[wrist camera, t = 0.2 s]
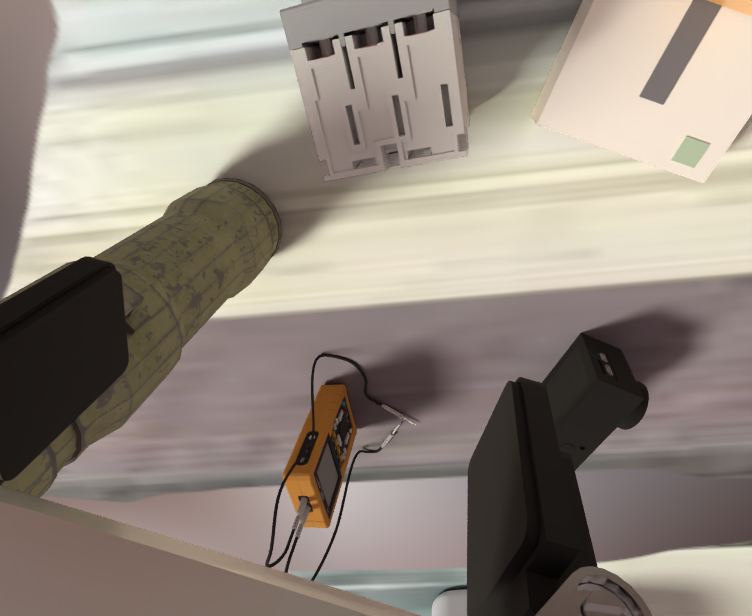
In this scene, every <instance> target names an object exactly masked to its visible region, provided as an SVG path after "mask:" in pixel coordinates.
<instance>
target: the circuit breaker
mask: <svg viewBox="0 0 752 616" xmlns="http://www.w3.org/2000/svg"><path fill="white" fill-rule="evenodd" d="M301 2H302V4H300V5H296V6H293V7H289V8H286V9H282V10H280V15H281V19H282V23H283V27H284V30H285V34H286V38H287V42H288V46H289V49H290V50H293V51H290V53H291V57H292V61H293V64H294V68H295V72H296V76H297V79H298V83H299V87H300V91H301V94H302V98H303V102H304V106H305V110H306V113H307V117H308V121H309V125H310V128H311V132H312V136H313V140H314V143H315V147H316V151H317V155H318V158H319V161H323V160H326V161H327V165H328V169H329V173H330V175H325V176H324V181H330V180H335V179H341V178H346V177H352V176H358V175H363V174H369V173H374V172H380V171H385V170H387V169H388V168H390V167H392V166H397V165H400V166H401V168H402V167H408V166H413V165H419V164H425V163H430V162H436V161H441V160H447V159H452V158H458V157H464V156H467V153H468V136H467V126H469V116H470V114H469V110H468V101H467V88H466V79H465V70H464V61H463V52H462V44H461V35H460V26H459V17H458V8H457V0H301Z"/></svg>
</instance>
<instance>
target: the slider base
mask: <svg viewBox="0 0 752 616" xmlns="http://www.w3.org/2000/svg"><path fill="white" fill-rule="evenodd" d="M751 115H752V16H749V15H746V14H744V13H741V12H738V11H735V10H732V9H730V8H727V7H724V6H721V5H718V4H715V3H713V2H710V1H707V0H582V2H581V4H580V7H579V9H578V11H577V13H576V15H575V18H574V20H573V22H572V24H571V27H570V29H569V31H568V33H567V35H566V38H565V40H564V42H563V44H562V47H561V49H560V51H559V53H558V55H557V58H556V60H555V62H554V64H553V67H552V69H551V71H550V73H549V75H548V78H547V80H546V82H545V84H544V87H543V89H542V91H541V93H540V95H539V98H538V100H537V102H536V104H535V107H534V109H533V111H532V113H531V115H530V116H531V117H532V119H533V120H534V122H535V123H536V124H537V125H539V126H542V127H545V128H548V129H551V130H554V131H556V132H559V133H562V134H565V135H568V136H570V137H573V138H576V139H579V140H582V141H585V142H587V143H590V144H593V145H596V146H599V147H601V148H604V149H607V150H610V151H613V152H616V153H618V154H621V155H624V156H627V157H630V158H633V159H635V160H638V161H641V162H644V163H647V164H649V165H652V166H655V167H658V168H661V169H664V170H666V171H669V172H672V173H675V174H678V175H680V176H683V177H686V178H689V179H692V180H695V181H697V182H700V183H703V184H704V182H705V181H706V179H707V178H708V176H709V175H710V174H711V172H712V171H713V169H714V168H715V166H716V165H717V164H718V162H719V161H720V159H721V158H722V156H723V155H724V153H725V152H726V151H727V149H728V148H729V146H730V145H731V143H732V142H733V141H734V139H735V138H736V136H737V135H738V133H739V132H740V130H741V129H742V128H743V126H744V125H745V123H746V122H747V120H748V119H749V118H750V116H751Z"/></svg>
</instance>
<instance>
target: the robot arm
mask: <svg viewBox="0 0 752 616" xmlns="http://www.w3.org/2000/svg"><path fill="white" fill-rule="evenodd" d="M128 363H129V354H128V343H127V331H126V320H125V309H124V298H123V287H122V277H121V274H120V272H118V271H116V267H115V266H114V264H112V263H110V262H107V261H103V260H100V259H96V258H92V257H83V258H81V259H79V260H77V261H75V262H74V263H72V264H70V265H68V266H67V267H65V268H63V269H61V270H60V271H58V272H56V273H54V274H53V275H51V276H49V277H47V278H46V279H44V280H42V281H40V282H38V283H37V284H35V285H33V286H31V287H30V288H28V289H26V290H24V291H23V292H21V293H19V294H17V295H16V296H14V297H12V298H10V299H9V300H7V301H5V302H3V303H2V304H0V485H1V484H2V483H3V482H4V481H10V480H12V479H14V478H15V477H17V476H18V475H19V474H20V473H21V472H22V471H23V470H24V469H25V468H26V467H27V466H28V465H29V464H30V463H31V462H32V461H33V460H34V459H35V458H36V457H37V456H38V455H40V454H41V453H42V452H43V451H44V450H45V449H46V448H47V447H48V446H49V445H50V444H51V443H52V442H53V441H54V440H55V439H56V438H57V437H58V436H59V435H60V434H61V433H62V432H63V431H64V430H65V429H66V428H67V427H68V426H69V425H71V424H72V423H73V422H74V421H75V420H76V419H77V418H78V417H79V416H80V415H81V414H82V413H83V412H84V411H85V410H86V409H87V408H88V407H89V406H90V405H91V404H92V403H93V402H94V401H95V400H96V399H97V398H98V397H99V396H100V395H101V394H103V393H104V392H105V391H106V390H107V389H108V388H109V387H110V386H111V385H112V384H113V383H114V382H115V381H116V380H117V379H118V378H119V377H120V376H121V375H122V374H123V373H124V372H125V370H126V368H127V366H128ZM467 530H468V532H467V616H652V614H651V612H650V610H649V609H648V607H647V606H646V604H645V603H644V601H643V599H642V598H641V597H640V596H639V595H638V594H637V592H636V591H635V590H634V589H633V588H632V587H631V586H630V585H629V584H628V583H626V582H625V581H624V580H622V579H621V578H620V577H618V576H617V575H615V574H613V573H611V572H609V571H607V570H605V569H602V568H598V567H597V563H596V559H595V555H594V550H593V546H592V542H591V538H590V534H589V529H588V525H587V521H586V517H585V513H584V508H583V504H582V500H581V496H580V492H579V487H578V483H577V479H576V475H575V470H574V466H573V462H572V459H571V456H570V454H569V453H568V451H567V450H563V449H560V448H559V444H558V439H557V435H556V430H555V425H554V421H553V416H552V411H551V407H550V402H549V397H548V393H547V388H546V385H545V384H543V383H540V382H536V381H533V380H529V379H525V378H522V377H519V378H518V379H517V380H516V382H513V381H508V382H507V384H506V386H505V388H504V390H503V392H502V394H501V396H500V398H499V400H498V403H497V405H496V407H495V409H494V411H493V413H492V415H491V417H490V419H489V422H488V424H487V426H486V428H485V430H484V432H483V434H482V436H481V438H480V441H479V443H478V445H477V447H476V449H475V451H474V453H473V455H472V458H471V460H470V463H469V468H468V525H467ZM0 616H420V615H417V614H414V613H411V612H408V611H405V610H402V609H399V608H396V607H393V606H390V605H387V604H384V603H381V602H378V601H375V600H372V599H369V598H366V597H363V596H359V595H356V594H353V593H350V592H347V591H343V590H340V589H337V588H334V587H330V586H327V585H324V584H321V583H318V582H314V581H311V580H308V579H305V578H301V577H298V576H295V575H292V574H288V573H285V572H282V571H279V570H276V569H272V568H269V567H266V566H262V565H259V564H256V563H253V562H250V561H246V560H243V559H240V558H237V557H234V556H230V555H227V554H224V553H220V552H217V551H214V550H210V549H207V548H204V547H201V546H197V545H194V544H191V543H187V542H184V541H181V540H177V539H174V538H171V537H168V536H165V535H161V534H158V533H155V532H151V531H148V530H145V529H141V528H138V527H135V526H131V525H128V524H125V523H122V522H118V521H115V520H112V519H108V518H105V517H101V516H98V515H95V514H92V513H88V512H85V511H82V510H78V509H75V508H72V507H68V506H65V505H62V504H58V503H55V502H52V501H48V500H45V499H41V498H38V497H35V496H32V495H28V494H25V493H21V492H18V491H15V490H11V489H8V488H5V487H1V486H0Z"/></svg>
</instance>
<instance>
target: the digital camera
mask: <svg viewBox="0 0 752 616" xmlns="http://www.w3.org/2000/svg"><path fill="white" fill-rule="evenodd" d="M584 335H585V334H583V333H580V335H579V336H578V337H577V338H576V340H575V341H574V342H573V344H572V345H571V346H570V347H569V349H568V350H567V351H566V353H565V354H564V355H563V357H562V358H561V359H560V360H559V362H558V363H557V364H556V366H555V367H554V368H553V369H552V371H551V372H550V373H549V375H548V376H547V377H546V378H545V380H544V381H543V382H542V383H543V384H545V385H546V388H547V393H548V397H549V402H550V407H551V411H552V416H553V421H554V425H555V430H556V435H557V439H558V444H559V448H560V449H563V450H567V451H568V453H569V454H570V456H571V459H572V462H573V466H574V470H576V469H577V468H578V467H579V466H580V465H581V464H582V463H583V462H584V461H585V460H586V459H587V458H588V456H589V455H590V454H591V453H592V452H593V451H594V450H595V449H596V448H597V447H598V446H599V445H600V444H601V443H602V442H603V441H604V440H605V439H606V438H607V437H608V436H609V435H610V434H611V433H612V432H613V431H614V430H615V429H616V428H617V427H618V428H621V429H624V430H626V429H630V428H632V427H634V426H635V425H637V424H638V423H639V422H640V420H641V419H642V418H643V416H644V414H645V412H646V410H647V406H648V401H649V394H648V390H647V388H646V386H645V385H644V384H642V383H640V382H638V381H635V378H634V376H633V374H632V372H631V370H630V368H629V366H628V363H627V361H626V359H625V357H624V355H623V353H622V351H621V350H620V349H618V348H615V347H613V346H611V345H608V344H606V343H604V342H601V341H599V340H597V339H594V338H592V337H590V336H587V335H585V336H584ZM586 340H587V341H586ZM587 343H588V344H587ZM589 348H590V349H589Z"/></svg>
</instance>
